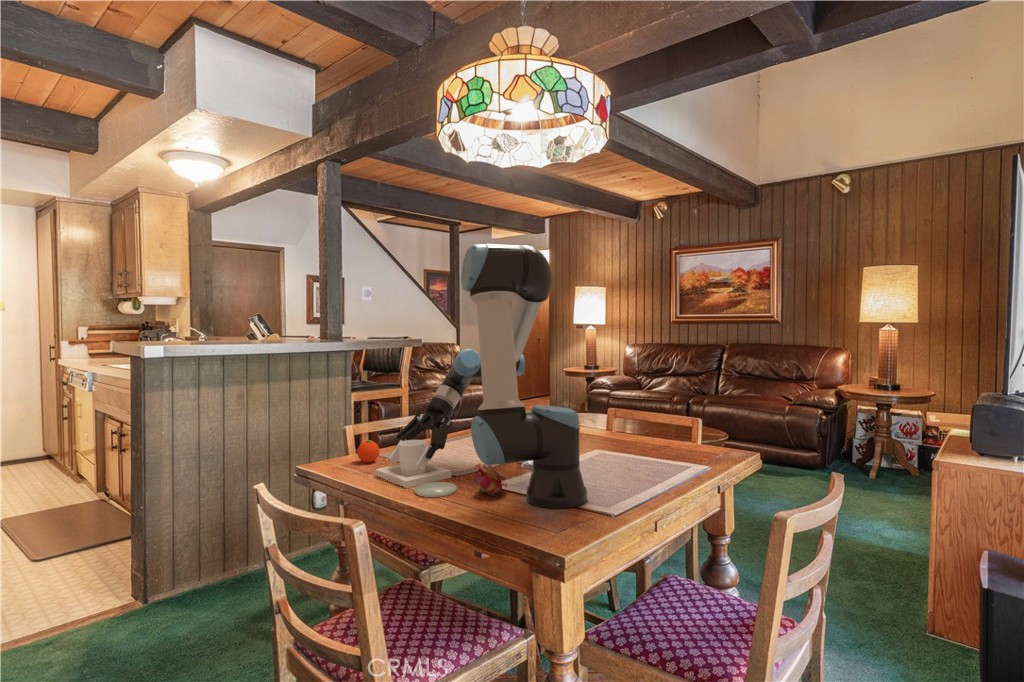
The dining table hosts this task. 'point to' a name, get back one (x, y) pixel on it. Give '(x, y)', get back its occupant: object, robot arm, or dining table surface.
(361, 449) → the clementine
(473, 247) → the robot arm
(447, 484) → the coaster
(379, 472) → the board
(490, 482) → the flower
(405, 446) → the white cup
